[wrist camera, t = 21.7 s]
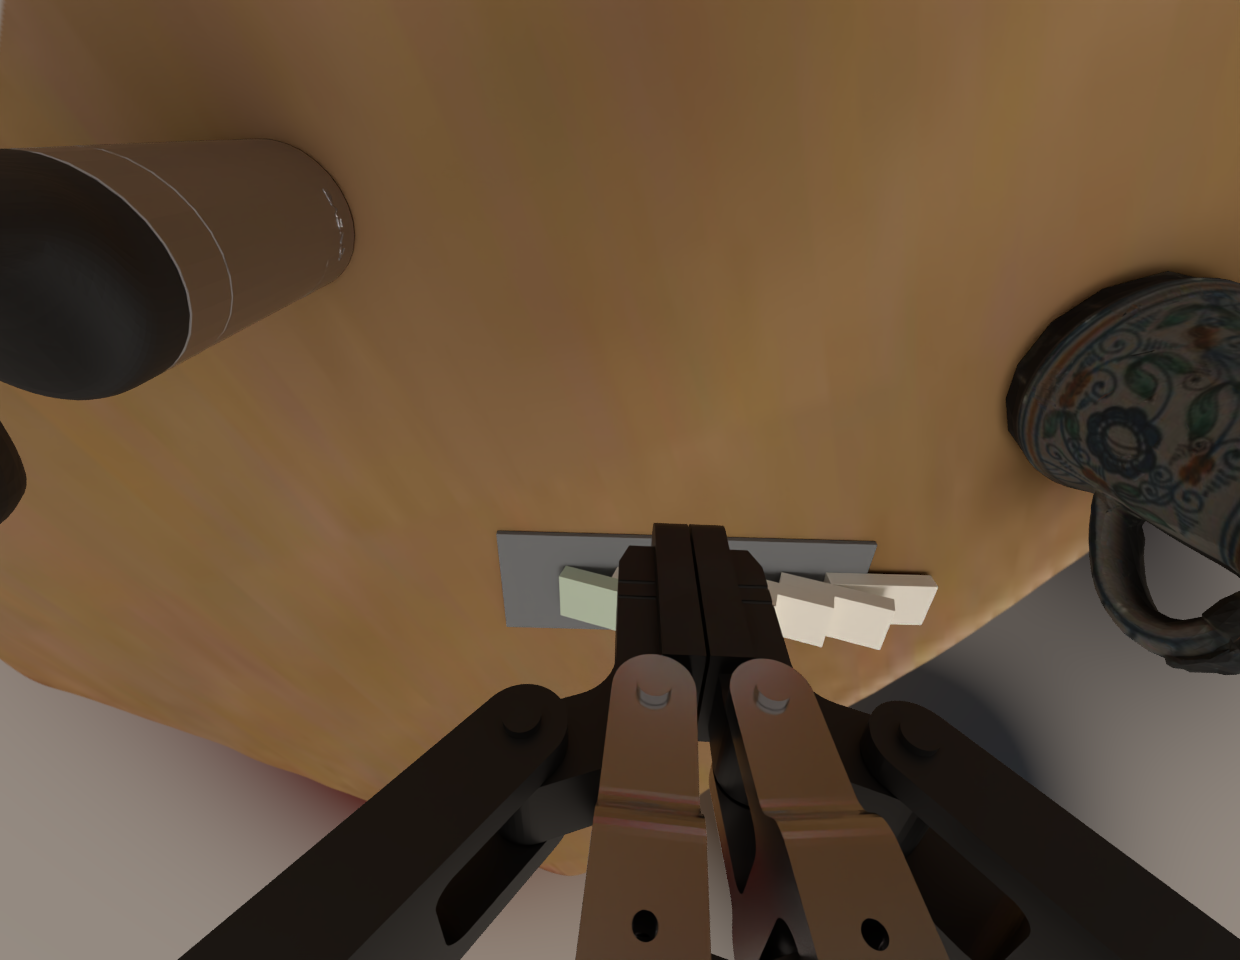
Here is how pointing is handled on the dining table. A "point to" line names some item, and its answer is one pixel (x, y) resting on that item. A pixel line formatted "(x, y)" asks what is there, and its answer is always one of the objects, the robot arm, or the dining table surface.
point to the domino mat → (544, 555)
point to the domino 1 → (588, 597)
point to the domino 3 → (851, 611)
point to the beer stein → (1145, 443)
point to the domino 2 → (802, 612)
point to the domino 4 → (893, 592)
